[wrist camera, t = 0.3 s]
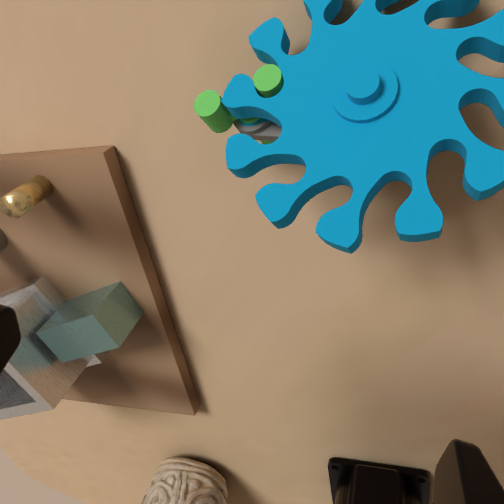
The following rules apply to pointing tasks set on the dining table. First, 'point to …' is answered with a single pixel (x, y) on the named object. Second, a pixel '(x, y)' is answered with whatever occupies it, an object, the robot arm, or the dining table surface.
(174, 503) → the carving
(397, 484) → the robot arm
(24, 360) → the grey piece
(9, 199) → the dowel pin
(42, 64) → the dining table surface
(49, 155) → the post board
